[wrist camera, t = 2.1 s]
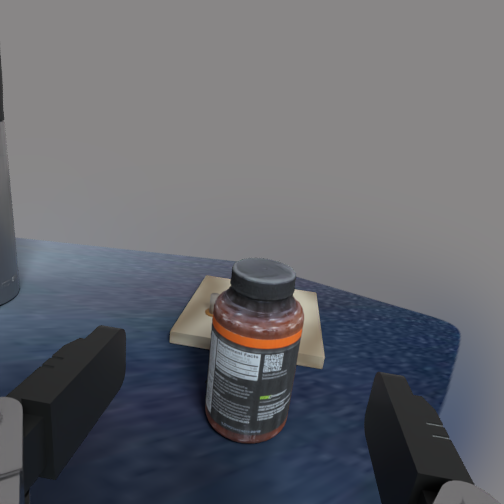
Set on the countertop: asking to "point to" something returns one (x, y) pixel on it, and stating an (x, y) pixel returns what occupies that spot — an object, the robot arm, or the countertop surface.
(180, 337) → the pin board
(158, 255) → the countertop surface
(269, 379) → the supplement bottle
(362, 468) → the countertop surface
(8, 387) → the countertop surface
